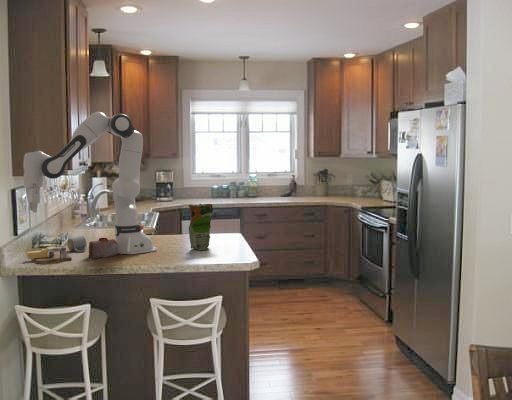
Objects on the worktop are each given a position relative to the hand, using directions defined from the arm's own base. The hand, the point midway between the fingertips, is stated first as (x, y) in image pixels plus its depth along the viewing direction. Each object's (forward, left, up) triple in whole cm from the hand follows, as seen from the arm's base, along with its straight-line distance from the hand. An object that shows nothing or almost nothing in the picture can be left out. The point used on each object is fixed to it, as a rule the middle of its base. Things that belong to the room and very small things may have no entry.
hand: (33, 211), depth 274 cm
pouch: (-81, +20, -24) cm, 87 cm away
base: (-7, +7, -24) cm, 26 cm away
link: (-3, +6, -22) cm, 23 cm away
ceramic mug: (-23, -10, -24) cm, 35 cm away
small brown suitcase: (-31, +13, -24) cm, 41 cm away
